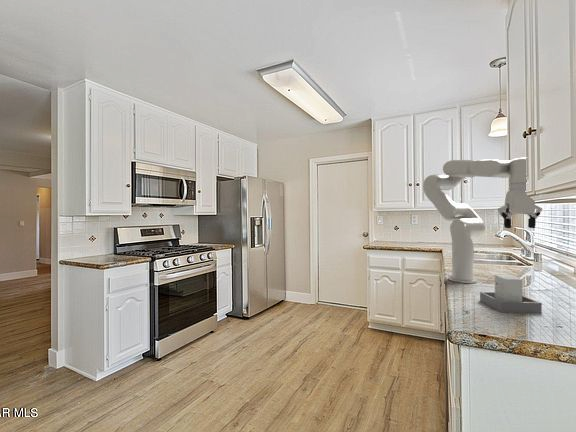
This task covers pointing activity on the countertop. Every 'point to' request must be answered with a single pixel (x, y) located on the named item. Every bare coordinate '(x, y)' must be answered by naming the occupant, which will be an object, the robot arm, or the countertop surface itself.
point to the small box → (508, 288)
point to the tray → (511, 304)
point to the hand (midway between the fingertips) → (519, 227)
